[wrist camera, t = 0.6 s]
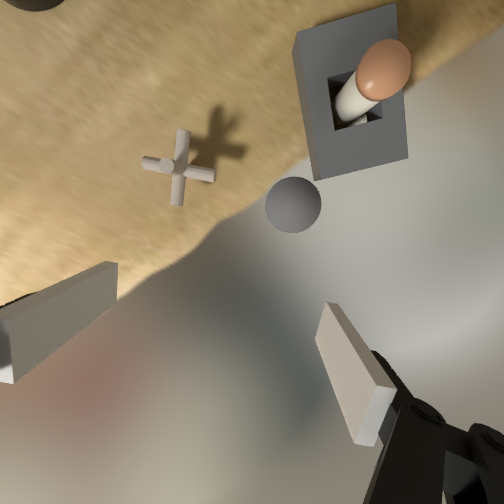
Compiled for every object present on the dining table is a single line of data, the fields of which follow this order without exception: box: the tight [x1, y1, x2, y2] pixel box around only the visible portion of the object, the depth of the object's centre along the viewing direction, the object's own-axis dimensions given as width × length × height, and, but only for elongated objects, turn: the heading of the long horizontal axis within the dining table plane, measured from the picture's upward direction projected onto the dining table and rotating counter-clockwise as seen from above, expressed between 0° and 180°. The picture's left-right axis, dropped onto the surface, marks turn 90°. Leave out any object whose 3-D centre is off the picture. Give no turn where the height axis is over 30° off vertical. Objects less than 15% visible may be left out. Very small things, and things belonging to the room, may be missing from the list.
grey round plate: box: [265, 177, 321, 233], centre depth 39 cm, size 9×9×1 cm
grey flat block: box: [292, 2, 408, 181], centre depth 33 cm, size 18×12×4 cm, turn 14°
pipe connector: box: [142, 129, 216, 206], centre depth 33 cm, size 10×10×10 cm
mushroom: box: [331, 39, 412, 126], centre depth 30 cm, size 5×5×12 cm
